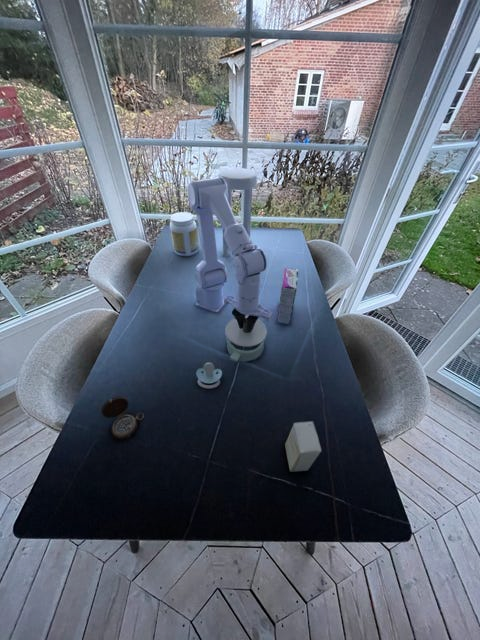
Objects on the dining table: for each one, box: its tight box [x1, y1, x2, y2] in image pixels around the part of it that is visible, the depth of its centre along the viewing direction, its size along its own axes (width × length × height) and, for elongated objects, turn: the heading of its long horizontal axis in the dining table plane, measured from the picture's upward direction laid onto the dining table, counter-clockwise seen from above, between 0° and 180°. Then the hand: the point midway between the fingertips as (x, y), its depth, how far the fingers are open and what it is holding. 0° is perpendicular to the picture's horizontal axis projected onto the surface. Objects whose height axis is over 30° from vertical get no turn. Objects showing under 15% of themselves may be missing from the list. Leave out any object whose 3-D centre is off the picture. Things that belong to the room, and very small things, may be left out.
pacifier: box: [196, 362, 223, 389], centre depth 74 cm, size 7×6×6 cm
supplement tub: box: [169, 211, 200, 257], centre depth 124 cm, size 12×12×17 cm
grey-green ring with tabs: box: [226, 337, 265, 363], centre depth 84 cm, size 12×17×4 cm
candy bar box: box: [276, 267, 299, 325], centre depth 92 cm, size 11×5×16 cm, turn 168°
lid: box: [224, 315, 268, 348], centre depth 79 cm, size 13×13×5 cm
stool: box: [217, 167, 258, 257], centre depth 118 cm, size 16×16×35 cm
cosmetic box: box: [284, 420, 322, 473], centre depth 58 cm, size 6×4×12 cm
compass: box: [100, 395, 145, 440], centre depth 64 cm, size 8×8×7 cm
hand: (246, 328), depth 80 cm, fingers closed on lid, 2 cm apart
